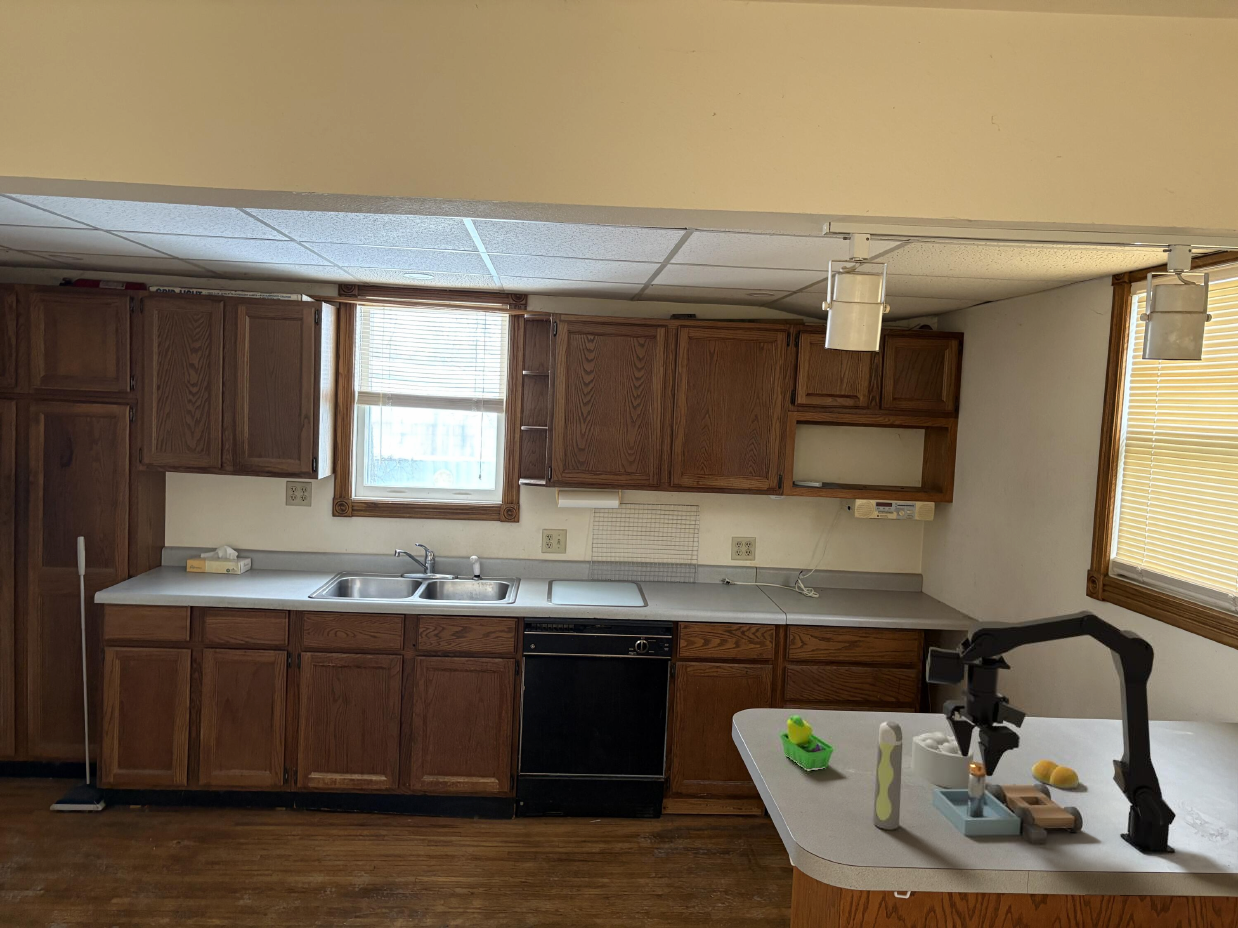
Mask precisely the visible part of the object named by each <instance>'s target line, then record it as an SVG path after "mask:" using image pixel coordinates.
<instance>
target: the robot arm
mask: <svg viewBox="0 0 1238 928" xmlns="http://www.w3.org/2000/svg"><path fill="white" fill-rule="evenodd" d="M1084 636H1089V637H1090V638H1093V640H1096V641H1097V642H1099V643H1101V644H1102V645H1104V646H1105V647H1107V648H1108V649H1109V650H1110V651H1109V652H1110V655H1111V658H1112V662H1113V665H1114V669H1115V670H1116V673H1117V676H1118V679H1119V691H1120V692H1119V693H1120V706H1121V707H1120V708H1121V709H1120V710H1121V724H1122V725H1121V726H1122V740H1123V742H1122V743H1123V754H1122V756H1121V758H1120V760H1119V759H1112V764H1113V768H1114V774H1113V777H1112V780H1114V781H1113V782H1115V784H1116V786H1118V788H1119V790H1120V791H1121V792H1122V794H1123V795H1124V796H1125V798H1126V799H1127V800H1128V802H1129V803H1130V805H1129V811H1128V819H1127V833H1120V834H1119V835H1120V838H1122V839H1123V840H1125V842H1127V843H1129V844H1130V845H1132V846H1133V847H1135V848H1136V849H1137V850H1138V851H1139V852H1141V853H1142V854H1175V852H1176V849H1175V848H1174V847H1172V846H1171V845H1169V832H1170V826H1171V825H1172V824H1173V822H1174V820H1175V818H1176V813H1175V812H1174V811H1173V809H1172V808H1171V807H1170V806H1169V804H1168V803H1167V802H1166V801H1165V799H1164V798H1163V793H1162V789H1161V786H1160V785H1161V784H1160V781H1159V778H1158V776H1157V772H1156V769H1155V767H1154V764H1153V761H1152V756H1151V755H1152V754H1151V740H1150V736H1151V735H1150V722H1149V721H1150V720H1149V705H1148V682H1149V679H1150V677H1151V675H1152V672H1153V666H1154V659H1155V652H1154V648H1153V646H1152V645H1151V644H1150V643H1149V642H1148V641H1147V640H1146V639H1145V638H1143V637H1142V636H1140V635H1139V634H1138V633H1137V632H1135V631H1132V630H1128V629H1122V630H1121V629H1119V628H1117V626H1114V625H1113V624H1111V623H1109V622H1107V621H1106V620H1104V619H1102V618H1101V617H1099V616H1098V615H1096V613H1094V612H1092V611H1090V610H1081V611H1079V612H1075V613H1069V614H1063V615H1056V616H1051V617H1045V618H1037V619H1031V620H1025V621H1018V622H1010V621H1009V622H1007V621H999V620H997V621H995V620H991V621H989V620H987V621H984V620H982V621H981V620H980V621H977V622H974V623H973V624H971V626H970V628H968V632H967V636H966V638H964V639H963V640H962V641H961V642H960V644H958V646H957V647H956V650H955V649H954V650H953V649H946V648H945V649H944V648H938V647H936V646H930V647H929V652H928V657H927V659H926V670H925V671H926V672H925V678H926V682H927V683H935V684H943V685H951V686H952V685H953V686H958V684H961V683H962V682H963V681H964V678H965V670H966V680H965V681H966V682H965V683H966V684H965V688H961V690H960V694H961V695H963V696H964V699H961V700H959V699H958V700H956V699H954V700H953V699H948V700H946V701H945V702H944V703H943V705H942V714H943V715H945V720H946V721H947V723H948V725H949V727H950V729H951V732H952V735H953V736H954V737H955V739H956V742H957V744H958V747H959V749H960V752H961V754H962V756H963V757H967V756H968V753H969V749H970V748H971V743H972V736H973V730H974V729H975V728H978V729H979V730H978V738H979V740H978V741H977V743H978V748H979V752H980V756H981V761H982V762H981V763H982V764H983V766H984V770H985V774H986V777H992V776H993V775H994V773H995V771H996V769H997V767H998V764H999V762H1000V760H1001V758H1002V756H1003V755H1004V754H1005V753H1006V752H1007V751H1012V750H1014V749H1019V748H1020V744H1021V743H1020V740H1021V737H1020V736H1019V734H1018V733H1017V732H1015V731H1014V730H1012V729H1011V728H1010V727H1008V725H1007V726H1006V725H1004V722H1006V723H1009V724H1011V725H1014V726H1015V727H1016V728H1018V729H1021V728H1022V725H1023V723H1024V721H1025V718H1026V715H1027V712H1025V711H1024V710H1022V709H1020V708H1019V707H1017V706H1015V705H1013V704H1012V703H1010V699H1009V698H1008V697H1007V696H1005V695H1004V694H1001V693H998V692H999V674H1000V669H1001V670H1009V671H1010V670H1011V668H1012V667H1011V665H1010V663H1009V662H1008V661H1007V660H1006V659H1005V658H1004V656H1003V654H1006V653H1008V652H1010V651H1012V650H1015V649H1016V648H1019V647H1021V646H1025V645H1031V644H1032V645H1033V644H1037V643H1044V642H1050V641H1057V640H1063V639H1071V638H1077V637H1084ZM965 666H966V669H965ZM994 724H996V725H994Z"/></svg>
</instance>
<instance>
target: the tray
mask: <svg viewBox="0 0 1238 928" xmlns="http://www.w3.org/2000/svg"><path fill="white" fill-rule="evenodd" d="M967 801H968V789H951V788H946V789H944V788H943V789H936V788H935V789H932V805H933V806H934V807H935V808H936V809H937V810H938V811H939V812H940V813H941V814H942V815H943V816H944V817H945V818H946V819H947V820H948V821H949V822H950V823H951V824H952V825H953V826H954V827H955V828H956V829H957V830H958V831H959V832H960V833H961V834H962V835H963V836H1015V835H1017V836H1020V835H1021V831H1020V822H1021V819H1020V818H1018V817H1017V816H1016V815H1015V814H1014V811H1013V812H1012V810H1011V809H1009V807H1008V806H1006V805H1005V804H1004V805H1003V804H1002V803H1001V802H999V801H998V800H997V799H996V798H995V797H994V796H992V795H991V794H990V793H989V792H988V791H987V789H985V796H984V813H983V818H973V817H970V816H968V815H967Z"/></svg>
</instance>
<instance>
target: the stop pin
mask: <svg viewBox="0 0 1238 928" xmlns="http://www.w3.org/2000/svg"><path fill="white" fill-rule="evenodd" d="M986 777H987V775H986V774H985V770H984V766H983V762H977V761H973V762H971V763H970V768H969V785H968V801H967V815H968V816H970V817H973V818H983V813H984V796H985V790H986V781H987V780H986Z"/></svg>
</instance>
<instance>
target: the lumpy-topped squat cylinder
mask: <svg viewBox="0 0 1238 928" xmlns="http://www.w3.org/2000/svg"><path fill="white" fill-rule="evenodd" d="M911 748H912V749H911V764H910V766H911V767H910V768H911V769H910V770H911V772H912V771H913V772H914V773H913V772H912V773H913V774H915V773H916V774H917V775H916V774H915V775H916V776H917V777H919V776H920V777H919V778H921V779H923V780H925V781H926V782H929V783H931V784H933V785H936V786H939V787H943V788H946V789H968V785H969V768H970V763H971V762H974V751H973V749H972V747H970V749H969V753H968V756H967V757H963V756H962V754H961V752H960V749H959V747H958V744H957V742H956V739H955V737H954V735H952V736H949V735H947V734H945V733H943V732H941V731H935V732H929V733H927V732H926V733H922V734H920V735H916V736H913V737H912V747H911Z"/></svg>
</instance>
